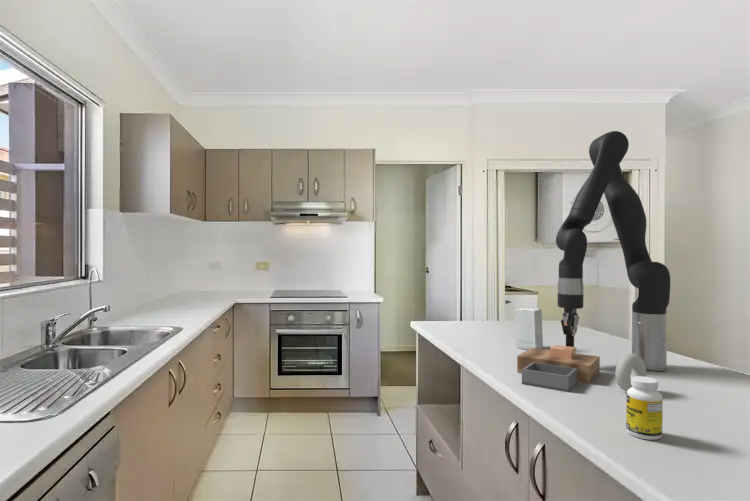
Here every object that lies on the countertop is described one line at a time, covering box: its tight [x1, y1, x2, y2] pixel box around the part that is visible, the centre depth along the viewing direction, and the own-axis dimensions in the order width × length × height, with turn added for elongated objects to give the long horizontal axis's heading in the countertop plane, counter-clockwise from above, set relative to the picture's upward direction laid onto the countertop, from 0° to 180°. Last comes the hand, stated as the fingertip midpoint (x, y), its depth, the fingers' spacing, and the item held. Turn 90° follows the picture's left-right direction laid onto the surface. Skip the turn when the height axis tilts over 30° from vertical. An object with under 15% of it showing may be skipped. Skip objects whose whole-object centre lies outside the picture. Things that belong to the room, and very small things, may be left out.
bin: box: [521, 362, 578, 393], centre depth 127 cm, size 12×10×4 cm
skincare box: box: [514, 307, 544, 351], centre depth 172 cm, size 8×6×15 cm
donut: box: [614, 352, 647, 393], centre depth 120 cm, size 10×3×10 cm, turn 117°
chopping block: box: [516, 348, 601, 385], centre depth 138 cm, size 20×14×5 cm
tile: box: [549, 344, 577, 359], centre depth 138 cm, size 6×6×2 cm
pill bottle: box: [625, 376, 664, 441], centre depth 92 cm, size 6×6×11 cm
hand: (569, 347), depth 145 cm, fingers closed
